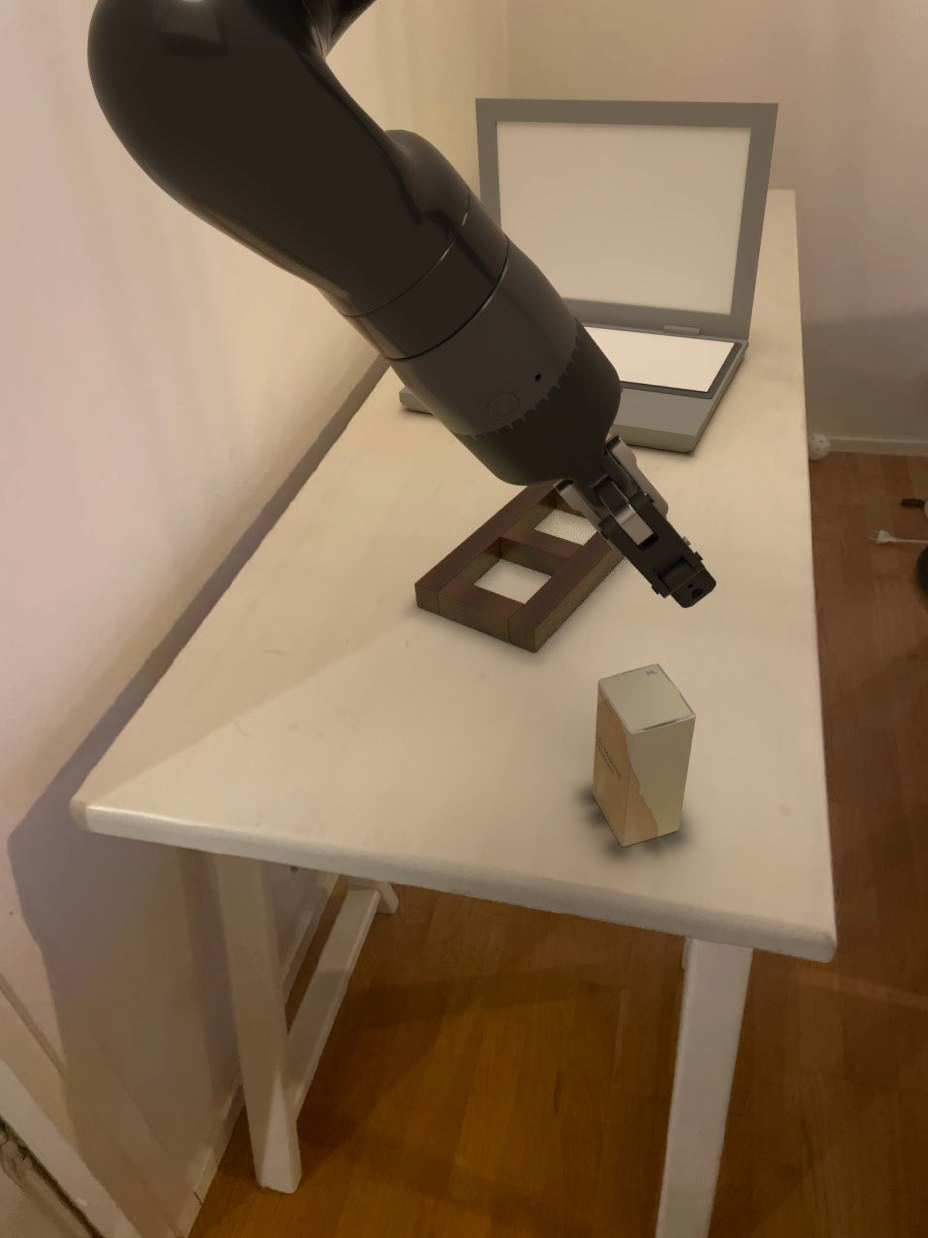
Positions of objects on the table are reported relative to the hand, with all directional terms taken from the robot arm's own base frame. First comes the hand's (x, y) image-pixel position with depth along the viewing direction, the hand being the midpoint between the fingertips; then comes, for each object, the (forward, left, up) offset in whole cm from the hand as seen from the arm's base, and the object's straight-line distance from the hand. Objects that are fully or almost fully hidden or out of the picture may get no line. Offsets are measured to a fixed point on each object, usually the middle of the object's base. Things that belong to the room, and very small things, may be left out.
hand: (662, 546), depth 53 cm
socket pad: (+12, -24, -20) cm, 34 cm away
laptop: (+15, -61, -20) cm, 66 cm away
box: (0, +3, -20) cm, 20 cm away
